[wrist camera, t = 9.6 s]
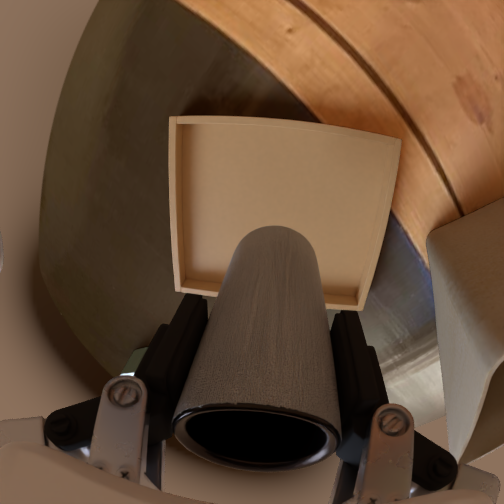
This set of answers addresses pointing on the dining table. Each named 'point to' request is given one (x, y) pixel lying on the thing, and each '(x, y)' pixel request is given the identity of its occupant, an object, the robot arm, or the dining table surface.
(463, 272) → the flower pot
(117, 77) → the dining table surface
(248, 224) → the tray
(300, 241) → the grey cylinder
